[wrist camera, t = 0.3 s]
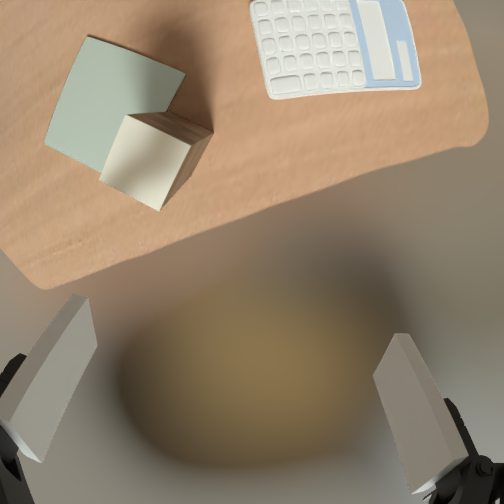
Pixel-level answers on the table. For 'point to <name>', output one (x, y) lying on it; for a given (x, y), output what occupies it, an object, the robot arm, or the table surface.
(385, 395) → the robot arm
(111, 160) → the walnut block
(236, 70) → the table surface
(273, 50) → the calculator
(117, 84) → the mat
